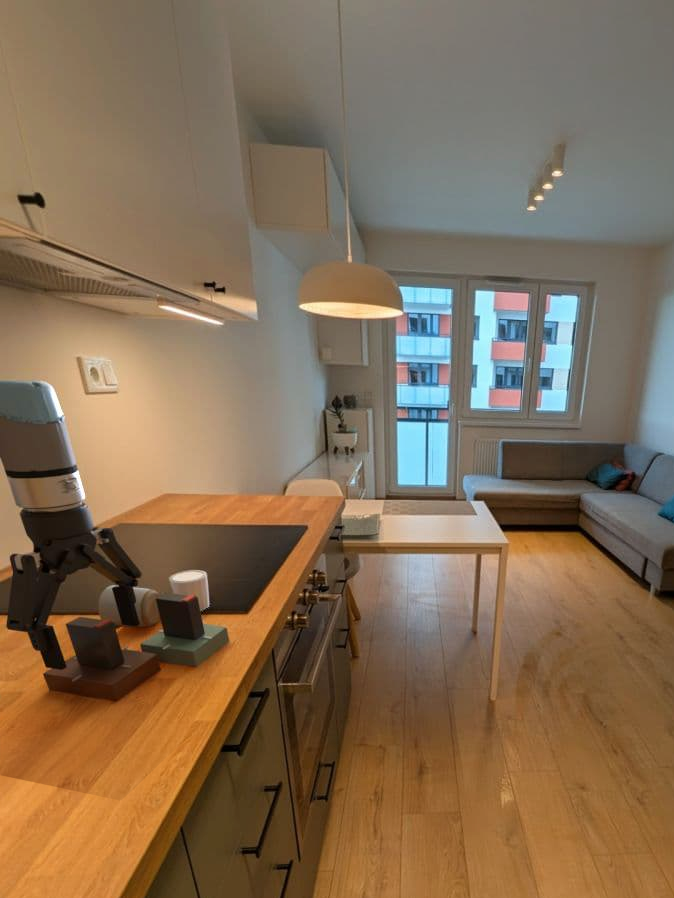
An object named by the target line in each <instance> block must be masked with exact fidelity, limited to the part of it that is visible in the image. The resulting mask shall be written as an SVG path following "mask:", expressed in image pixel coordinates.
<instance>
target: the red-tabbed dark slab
mask: <svg viewBox="0 0 674 898" xmlns="http://www.w3.org/2000/svg"><path fill="white" fill-rule="evenodd" d="M65 626H66V630H67V633H68V636H69V639H70V642H71V645H72V649H73V652H74V655H76V658H77V661H78V664H80V665H86V666H92V667H99V668H105V669H111V670H112V669H114V668H115V667H117V666H118V665H120V664H121V663H123V662H125V660H124V657H123V653H122V650H121V649H122V647H121V643H120V640H119V636H118V632H117V629H116V626H115V625H114V622H113V621H111V620H107V619H105V620H101V618H92V617H85V616H78V617H77V618H74V619H73V620H70V621H68V622H66V623H65Z"/></svg>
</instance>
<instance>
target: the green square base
mask: <svg viewBox="0 0 674 898" xmlns="http://www.w3.org/2000/svg"><path fill="white" fill-rule="evenodd" d="M202 621H203V626H204V631H205V634H203V635H202V636H201V637H199V638H198V639H196V640H191V639H184V638H177V637H170V636H164V631H163V629H160V630H157V633H155V634H153V635H152V636H150V637H148V638H147V639H145V640H144V641H142V642H140V644H139V645H140V650H141V652H147V653H154V654H157V656H158V660H159V663H166V664H173V665H179V666H185V667H193V668H198V667H199V666H200V665H202V664H203V663H204V662H205V661H207V660H208V658H210V657H211V656H213V655H214V654H216V653H217V652H218V651H219V650H220V649H222V648H223V647H224V646H225V645H227V644H228V643H229V642H230V637H229V632H228V627H227V626H225V625H216V624H208V623H206V620H202Z"/></svg>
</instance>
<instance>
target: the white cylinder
mask: <svg viewBox="0 0 674 898" xmlns="http://www.w3.org/2000/svg"><path fill="white" fill-rule="evenodd" d="M168 581H169V584H170V587H171V590H172V594H180V595H188V596H189V595H196V597H198V602H199V607H200V612H201V611H202V612H204V611H203V610H205V609H206V608H208V607H209V608H210V606H211V605H210V604H211V603H210V593H209V582H208V581H209V580H208V573H207V571H204V570H198V569H190V570H189V569H188V570H183V571H179V572H176V573H174V574H172V575H170V576H169V577H168ZM209 605H210V606H209ZM209 608H208V609H209ZM206 610H207V609H206ZM206 610H205V611H206ZM202 612H201V613H202Z"/></svg>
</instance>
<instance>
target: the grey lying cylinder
mask: <svg viewBox="0 0 674 898" xmlns="http://www.w3.org/2000/svg"><path fill="white" fill-rule="evenodd" d="M115 586H116V584H114V585H109V586H107V587H105V589H104V590H103V591H102V592H101V594H100V595H99V600H98V605H97V606H98V607H97V608H98V615H99V619H100V620H105V619H107V620H111V621H113V622H114V625H115V627H117V626H120V627H122V628H147V627H152V626H155V625H156V624H157V623H158V622H159V621H160V620H161V619H160V615H159V611H158V606H157V602H156V598H158V597H159V596H161V595H160V594H159V592H158V591H156V590H154V589H151V588H145V587H133V590H134V593H135V597H136V603H135V608H136V612H137V615H138V619H139V623H140V625H138V626H129V625H122V623H121V619H120V615H119V612H118V608H117V605H116V601H115V598H114V594H113V590H112V588H113V587H115Z"/></svg>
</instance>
